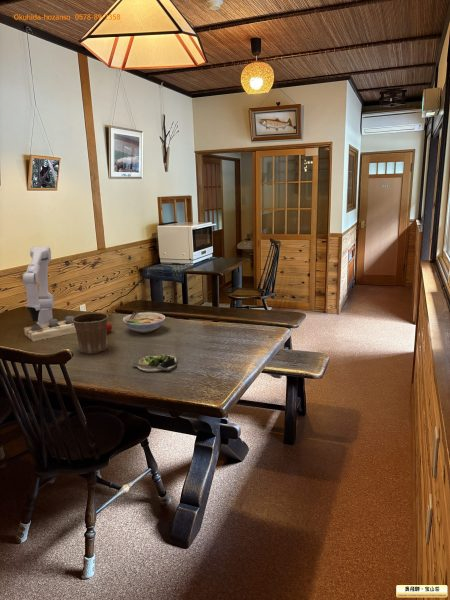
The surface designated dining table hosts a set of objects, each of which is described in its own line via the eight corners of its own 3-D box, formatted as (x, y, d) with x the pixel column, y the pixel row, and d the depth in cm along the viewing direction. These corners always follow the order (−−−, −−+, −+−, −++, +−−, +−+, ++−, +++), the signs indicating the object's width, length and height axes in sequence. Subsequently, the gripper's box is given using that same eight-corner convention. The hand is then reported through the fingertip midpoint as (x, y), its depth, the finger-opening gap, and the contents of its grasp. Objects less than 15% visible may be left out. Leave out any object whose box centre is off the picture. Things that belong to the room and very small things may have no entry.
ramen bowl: (162, 338, 224) (161, 323, 222) (118, 338, 224) (117, 322, 222) (169, 324, 248) (168, 310, 246) (129, 324, 248) (128, 310, 246)
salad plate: (129, 375, 179) (128, 365, 178) (134, 359, 196) (133, 350, 195) (176, 373, 180) (176, 363, 179) (177, 358, 198) (176, 348, 197)
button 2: (48, 327, 234) (47, 319, 233) (56, 326, 237) (55, 318, 236) (51, 329, 231) (50, 321, 230) (59, 328, 233) (58, 320, 232)
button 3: (64, 324, 240) (64, 316, 239) (72, 323, 242) (72, 315, 241) (67, 326, 236) (67, 318, 235) (75, 324, 239) (75, 317, 238)
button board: (24, 334, 230) (23, 327, 229) (74, 324, 247) (73, 318, 246) (33, 341, 219) (32, 334, 218) (85, 330, 236) (84, 323, 235)
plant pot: (73, 357, 198) (70, 323, 194) (75, 345, 213) (73, 314, 209) (110, 354, 202) (108, 320, 198) (110, 342, 217) (107, 311, 213)
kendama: (88, 344, 219) (116, 330, 232) (84, 332, 218) (113, 319, 231) (79, 343, 224) (108, 330, 237) (76, 332, 223) (104, 319, 236)
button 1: (31, 334, 229) (30, 325, 228) (39, 332, 232) (38, 324, 230) (33, 336, 226) (32, 327, 224) (42, 334, 228) (41, 326, 227)
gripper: (20, 294, 226) (23, 319, 230) (28, 299, 216) (31, 325, 219) (34, 292, 231) (37, 316, 234) (43, 297, 220) (45, 322, 223)
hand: (35, 320), depth 227 cm, fingers closed
